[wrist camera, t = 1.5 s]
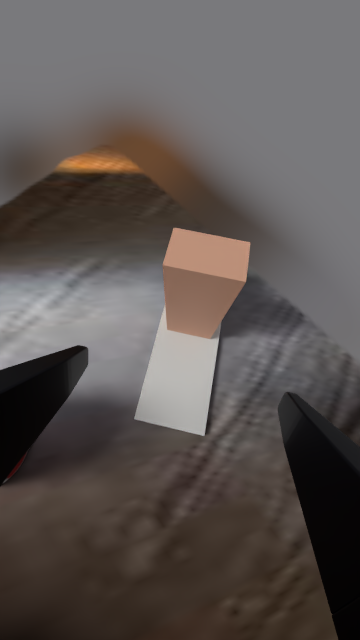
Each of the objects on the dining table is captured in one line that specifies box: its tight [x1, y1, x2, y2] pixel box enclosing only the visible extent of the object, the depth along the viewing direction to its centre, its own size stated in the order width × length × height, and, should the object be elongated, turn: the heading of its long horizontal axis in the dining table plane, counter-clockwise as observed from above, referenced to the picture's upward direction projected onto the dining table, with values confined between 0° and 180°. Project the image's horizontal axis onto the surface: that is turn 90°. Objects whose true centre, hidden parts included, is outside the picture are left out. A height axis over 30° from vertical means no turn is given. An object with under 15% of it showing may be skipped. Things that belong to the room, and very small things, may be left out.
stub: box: [163, 228, 250, 339], centre depth 18 cm, size 3×5×12 cm, turn 78°
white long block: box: [134, 306, 222, 436], centre depth 21 cm, size 18×7×6 cm, turn 168°
